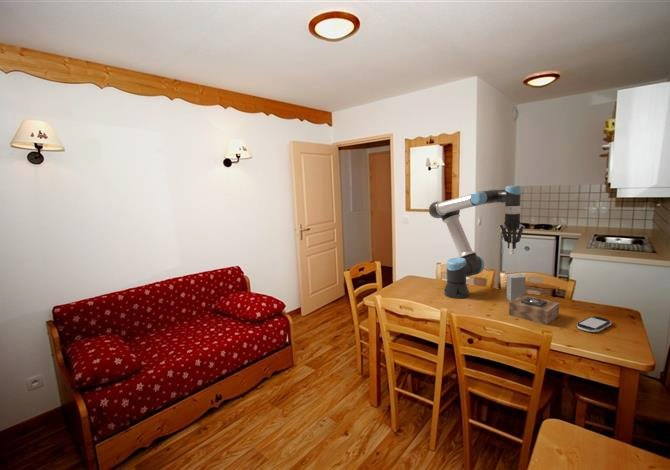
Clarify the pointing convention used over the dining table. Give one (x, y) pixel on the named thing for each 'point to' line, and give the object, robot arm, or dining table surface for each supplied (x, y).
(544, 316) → the socket block
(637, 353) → the dining table surface
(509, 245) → the robot arm
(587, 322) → the gaming console
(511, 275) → the skincare box
